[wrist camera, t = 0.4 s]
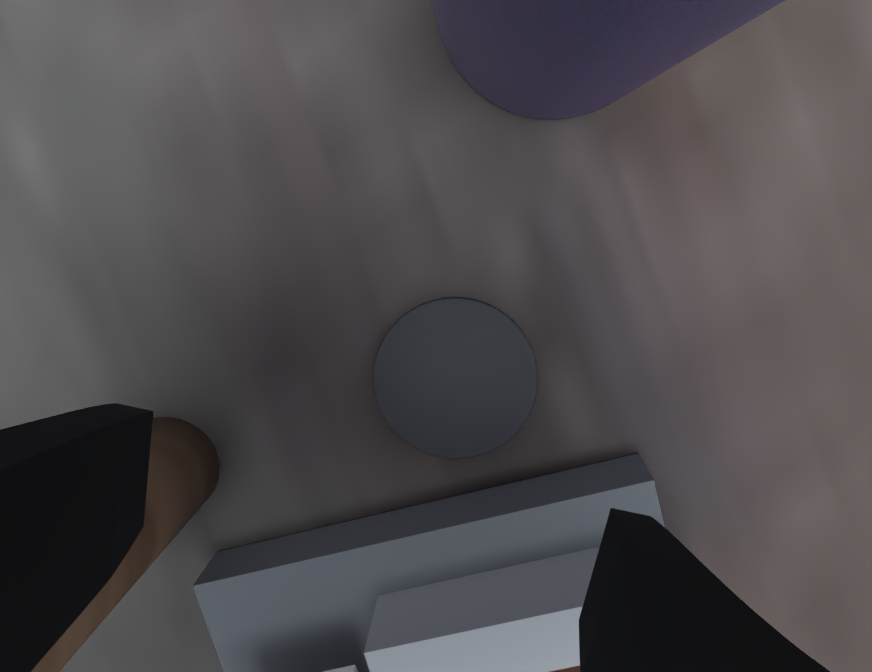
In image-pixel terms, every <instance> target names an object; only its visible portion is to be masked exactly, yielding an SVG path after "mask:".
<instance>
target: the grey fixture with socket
mask: <svg viewBox="0 0 872 672" xmlns="http://www.w3.org/2000/svg"><path fill="white" fill-rule="evenodd" d="M611 508H614V509H619V510H624V511H629V512H633V513H638V514H643V515H648V516H651V517H652V518H654V519H655V520H656V521H658V522H659V523H660V524H661V525H662V526H664V527H665V525H664V521H663V517H662V512H661V508H660V504H659V500H658V495H657V491H656V487H655V482H654V479H653V478H652V476H651V474H650V472H649V471H648V469H647V467H646V466H645V464H644V462H643V460H642V459H641V457H640V455H639V453H637V454H633V455H629V456H625V457H620V458H616V459H612V460H607V461H603V462H599V463H595V464H590V465H586V466H582V467H578V468H573V469H569V470H565V471H560V472H556V473H552V474H548V475H543V476H539V477H535V478H531V479H526V480H522V481H518V482H513V483H509V484H505V485H501V486H496V487H492V488H488V489H483V490H479V491H475V492H471V493H466V494H462V495H458V496H454V497H449V498H445V499H441V500H436V501H432V502H428V503H424V504H419V505H415V506H411V507H407V508H402V509H398V510H394V511H389V512H385V513H381V514H377V515H372V516H368V517H364V518H360V519H355V520H351V521H347V522H342V523H338V524H334V525H330V526H325V527H321V528H317V529H312V530H308V531H304V532H300V533H295V534H291V535H287V536H283V537H278V538H274V539H270V540H265V541H261V542H257V543H253V544H248V545H244V546H240V547H236V548H231V549H227V550H223V551H218V552H216V554H215V555H214V557H213V558H212V559H211V561H210V562H209V564H208V565H207V566H206V568H205V569H204V571H203V572H202V573H201V575H200V576H199V578H198V579H197V581H196V582H195V583H194V585H193V589H194V591H195V594H196V597H197V600H198V602H199V605H200V608H201V611H202V614H203V616H204V619H205V622H206V625H207V627H208V630H209V633H210V636H211V638H212V641H213V644H214V647H215V649H216V652H217V655H218V658H219V660H220V663H221V666H222V669H223V671H224V672H323V671H328V670H332V669H337V668H342V667H346V666H351V665H355V666H356V668H357V670H358V672H550V671H555V670H560V669H565V668H570V667H575V666H579V665H580V654H579V617H580V614H581V610H582V607H583V603H584V600H585V596H586V593H587V589H588V586H589V582H590V579H591V575H592V572H593V568H594V565H595V561H596V558H597V554H598V551H599V547H600V544H601V540H602V537H603V533H604V530H605V526H606V523H607V519H608V516H609V512H610V509H611Z"/></svg>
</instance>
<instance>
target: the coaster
mask: <svg viewBox="0 0 872 672" xmlns="http://www.w3.org/2000/svg"><path fill="white" fill-rule="evenodd" d="M537 383H538V378H537V367H536V362H535V358H534V355H533V352H532V349H531V346H530V344H529V342H528V340H527V338H526V337H525V335H524V334H523V332H522V331H521V329H520V328H519V327H518V326H517V325H516V323H515V322H514V321H513V320H512V319H510V318H509V317H508V316H507V315H506V314H504V313H503V312H501V311H500V310H498V309H497V308H495V307H493V306H491V305H489V304H487V303H484V302H481V301H478V300H474V299H469V298H459V297H452V298H442V299H437V300H433V301H430V302H427V303H424V304H422V305H420V306H418V307H416V308H414V309H412V310H411V311H409V312H408V313H406V314H405V315H404V316H403V317H402V318H400V319H399V320H398V321H397V322H396V323H395V325H394V326H393V327H392V328H391V329H390V331H389V332H388V334H387V335H386V337H385V339H384V340H383V342H382V344H381V347H380V349H379V351H378V354H377V357H376V361H375V367H374V390H375V395H376V399H377V402H378V405H379V408H380V410H381V412H382V414H383V416H384V418H385V420H386V421H387V422H388V424H389V425H390V427H391V428H392V429H393V430H394V431H395V432H396V433H397V434H398V435H399V436H400V437H401V438H402V439H403V440H405V441H406V442H407V443H409V444H410V445H412V446H413V447H415V448H417V449H419V450H421V451H423V452H426V453H428V454H431V455H434V456H439V457H444V458H468V457H474V456H478V455H481V454H484V453H487V452H489V451H492V450H494V449H496V448H498V447H499V446H501V445H502V444H504V443H505V442H507V441H508V440H509V439H510V438H512V437H513V436H514V435H515V434H516V433H517V431H518V430H519V429H520V428H521V427H522V425H523V424H524V423H525V421H526V419H527V418H528V416H529V414H530V412H531V410H532V407H533V404H534V401H535V397H536V393H537Z"/></svg>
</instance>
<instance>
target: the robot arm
mask: <svg viewBox="0 0 872 672" xmlns="http://www.w3.org/2000/svg"><path fill="white" fill-rule="evenodd" d="M152 422H153V411H150V410H145V409H140V408H135V407H131V406H126V405H121V404H116V403H115V404H105V405H99V406H94V407H89V408H84V409H80V410H76V411H72V412H68V413H64V414H60V415H56V416H52V417H48V418H44V419H40V420H36V421H33V422H29V423H25V424H21V425H17V426H13V427H9V428H5V429H2V430H0V672H31V671H32V670H33V669H34V667H35V666H36V665H37V664H38V663H39V662H40V661H41V659H42V658H43V657H44V656H45V655H46V654H47V652H48V651H49V650H50V649H51V648H52V647H53V645H54V644H55V643H56V642H57V641H58V640H59V639H60V637H61V636H62V635H63V634H64V633H65V632H66V630H67V629H68V628H69V627H70V626H71V625H72V624H73V622H74V621H75V620H76V619H77V618H78V617H79V615H80V614H81V613H82V612H83V611H84V609H85V608H86V607H87V606H88V605H89V604H90V602H91V601H92V600H93V599H94V598H95V596H96V595H97V594H98V593H99V592H100V591H101V589H102V588H103V587H104V586H105V585H106V583H107V582H108V581H109V580H110V578H111V577H112V576H113V574H114V573H115V571H116V570H117V568H118V567H119V565H120V564H121V562H122V560H123V559H124V557H125V556H126V554H127V553H128V551H129V550H130V548H131V546H132V545H133V543H134V541H135V540H136V538H137V536H138V535H139V533H140V532H141V530H142V528H143V527H144V517H145V505H146V493H147V481H148V469H149V457H150V446H151V434H152ZM579 654H580V672H830V671H829V670H827V669H826V668H824V667H823V666H822V665H820V664H819V663H818V662H816V661H815V660H813V659H812V658H811V657H809V656H808V655H807V654H805V653H804V652H803V651H801V650H800V649H799V648H798V647H796V646H795V645H794V644H793V643H791V642H790V641H789V640H787V639H786V638H785V637H784V636H783V635H781V634H780V633H779V632H778V631H777V630H775V629H774V628H773V627H772V626H771V625H770V624H768V623H767V622H766V621H765V620H764V619H762V618H761V617H760V616H759V615H758V614H757V613H755V612H754V611H753V610H752V609H751V608H750V607H749V606H747V605H746V604H745V603H744V602H743V601H742V600H741V599H740V598H739V597H737V596H736V595H735V594H734V593H733V592H732V591H731V590H730V589H729V588H728V587H727V586H725V585H724V584H723V583H722V582H721V581H720V580H719V579H718V578H717V577H716V576H715V575H714V574H713V573H712V572H711V571H710V570H709V569H708V568H706V567H705V566H704V565H703V564H702V563H701V562H700V561H699V560H698V559H697V558H696V557H695V556H694V555H693V554H692V553H691V552H690V551H689V550H688V549H687V548H686V547H685V546H684V545H683V544H682V543H681V542H680V541H679V540H678V539H676V538H675V537H674V536H673V535H672V534H671V533H670V532H669V531H668V530H667V529H666V528H665V527H664V526H662V525H661V524H660V523H659V522H658V521H656V520H655V519H654V518H652V517H651V516H648V515H643V514H638V513H633V512H629V511H624V510H619V509H614V508H611V509H610V512H609V516H608V519H607V523H606V526H605V530H604V533H603V537H602V540H601V544H600V547H599V551H598V554H597V558H596V561H595V565H594V568H593V572H592V575H591V579H590V582H589V586H588V589H587V593H586V596H585V600H584V603H583V607H582V610H581V614H580V617H579Z"/></svg>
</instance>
